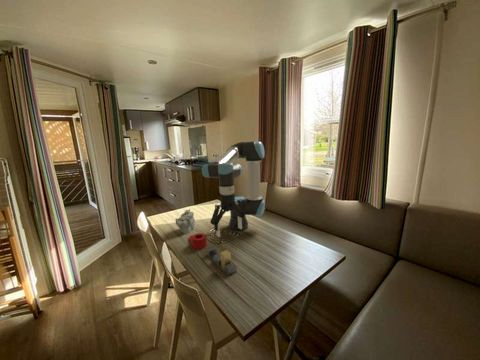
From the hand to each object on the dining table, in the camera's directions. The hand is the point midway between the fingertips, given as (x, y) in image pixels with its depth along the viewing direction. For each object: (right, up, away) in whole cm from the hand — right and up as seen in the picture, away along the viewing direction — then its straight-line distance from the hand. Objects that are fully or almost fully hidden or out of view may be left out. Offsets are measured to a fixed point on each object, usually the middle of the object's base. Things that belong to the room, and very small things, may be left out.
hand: (229, 231), depth 108 cm
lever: (-23, -15, +28) cm, 39 cm away
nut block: (-2, -18, 0) cm, 18 cm away
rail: (-5, -18, +5) cm, 19 cm away
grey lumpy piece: (-35, -12, +45) cm, 58 cm away
